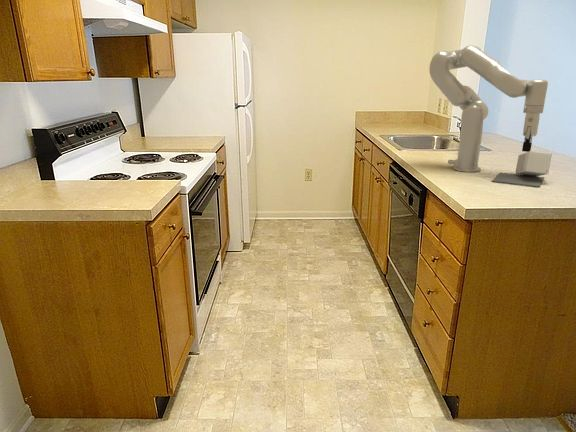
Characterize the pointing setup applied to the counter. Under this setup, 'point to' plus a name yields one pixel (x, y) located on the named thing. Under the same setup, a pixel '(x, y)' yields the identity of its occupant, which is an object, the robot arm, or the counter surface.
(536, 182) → the mat
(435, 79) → the robot arm
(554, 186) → the counter surface
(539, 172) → the supplement box
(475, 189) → the counter surface
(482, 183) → the counter surface
